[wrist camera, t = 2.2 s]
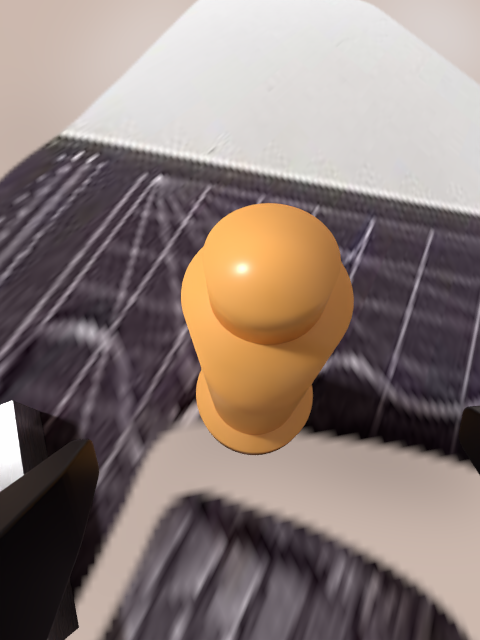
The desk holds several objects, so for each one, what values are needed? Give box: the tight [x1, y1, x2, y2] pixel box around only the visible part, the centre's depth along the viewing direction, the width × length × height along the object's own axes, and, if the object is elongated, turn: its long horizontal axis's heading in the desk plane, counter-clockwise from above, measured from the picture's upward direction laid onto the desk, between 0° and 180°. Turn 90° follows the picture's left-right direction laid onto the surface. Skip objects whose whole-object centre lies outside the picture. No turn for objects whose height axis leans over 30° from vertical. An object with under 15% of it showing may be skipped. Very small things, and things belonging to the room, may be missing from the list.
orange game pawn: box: [181, 203, 354, 455], centre depth 13 cm, size 6×6×13 cm
